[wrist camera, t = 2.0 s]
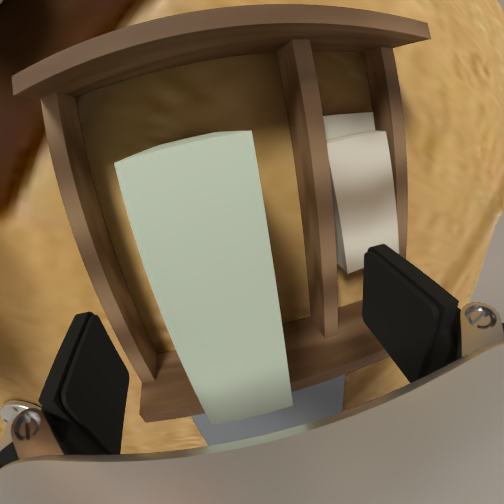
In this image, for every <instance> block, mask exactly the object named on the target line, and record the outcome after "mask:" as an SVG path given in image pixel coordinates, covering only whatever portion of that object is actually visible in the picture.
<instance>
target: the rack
mask: <svg viewBox="0 0 504 504" xmlns="http://www.w3.org/2000/svg"><path fill="white" fill-rule="evenodd" d="M428 39H431V36H430V32H429V28H428V24H427V23H425V22H421V21H417V20H413V19H409V18H405V17H400V16H396V15H391V14H386V13H380V12H374V11H368V10H361V9H354V8H346V7H336V6H323V5H304V4H266V5H246V6H234V7H224V8H216V9H208V10H201V11H195V12H189V13H183V14H178V15H173V16H168V17H164V18H159V19H155V20H151V21H147V22H143V23H139V24H135V25H132V26H128V27H125V28H122V29H119V30H115V31H112V32H109V33H106V34H103V35H100V36H98V37H95V38H92V39H90V40H87V41H84V42H82V43H79V44H77V45H74V46H72V47H69V48H67V49H65V50H63V51H60V52H58V53H56V54H54V55H52V56H49V57H47V58H45V59H43V60H41V61H39V62H37V63H35V64H33V65H31V66H30V67H28V68H26V69H24V70H22V71H20V72H19V73H17V74H15V75H13V76H12V86H13V96H20V97H28V98H35V99H41V104H42V111H43V117H44V123H45V129H46V134H47V139H48V144H49V149H50V153H51V158H52V162H53V166H54V170H55V174H56V178H57V182H58V186H59V190H60V193H61V197H62V200H63V204H64V207H65V210H66V213H67V217H68V220H69V223H70V226H71V229H72V232H73V235H74V238H75V240H76V243H77V246H78V249H79V251H80V254H81V257H82V259H83V262H84V265H85V267H86V270H87V272H88V275H89V277H90V280H91V282H92V284H93V287H94V289H95V291H96V294H97V296H98V298H99V300H100V303H101V305H102V307H103V309H104V311H105V314H106V316H107V318H108V320H109V322H110V324H111V326H112V328H113V330H114V332H115V334H116V336H117V338H118V340H119V342H120V344H121V346H122V348H123V350H124V351H125V353H126V355H127V357H128V359H129V361H130V363H131V364H132V366H133V368H134V370H135V371H136V373H137V375H138V377H139V378H140V380H141V382H142V390H141V401H140V415H141V417H142V418H143V420H144V421H145V422H154V421H162V420H169V419H176V418H182V417H188V416H194V415H199V414H205V411H204V409H203V407H202V405H201V403H200V401H199V399H198V397H197V395H196V393H195V391H194V389H193V387H192V385H191V382H190V380H189V378H188V376H187V374H186V371H185V369H184V367H183V365H182V363H181V360H180V358H179V356H178V353H177V351H176V350H175V351H170V352H165V353H160V354H156V352H155V350H154V347H153V345H152V343H151V341H150V339H149V337H148V334H147V332H146V330H145V328H144V325H143V323H142V321H141V319H140V316H139V314H138V312H137V309H136V307H135V304H134V302H133V299H132V297H131V295H130V292H129V289H128V287H127V284H126V282H125V279H124V277H123V274H122V271H121V268H120V266H119V263H118V260H117V257H116V255H115V252H114V249H113V246H112V243H111V240H110V237H109V234H108V231H107V228H106V225H105V221H104V218H103V215H102V212H101V208H100V205H99V201H98V198H97V194H96V191H95V187H94V183H93V179H92V175H91V171H90V167H89V163H88V159H87V155H86V150H85V146H84V141H83V136H82V132H81V126H80V121H79V116H78V110H77V104H76V98H75V97H77V96H79V95H82V94H85V93H87V92H90V91H93V90H95V89H98V88H101V87H104V86H107V85H110V84H113V83H116V82H119V81H122V80H126V79H129V78H132V77H136V76H139V75H143V74H147V73H150V72H154V71H158V70H162V69H166V68H171V67H175V66H180V65H185V64H190V63H195V62H200V61H206V60H212V59H218V58H225V57H232V56H240V55H249V54H259V53H271V52H276V53H277V58H278V63H279V69H280V74H281V79H282V85H283V91H284V96H285V102H286V108H287V115H288V121H289V127H290V134H291V140H292V147H293V154H294V161H295V168H296V176H297V183H298V191H299V199H300V207H301V216H302V225H303V234H304V244H305V254H306V264H307V275H308V286H309V299H310V312H311V317H308V318H304V319H301V320H297V321H294V322H290V323H287V324H283V325H282V327H283V335H284V342H285V349H286V356H287V364H288V371H289V379H290V386H291V392H294V391H297V390H300V389H304V388H307V387H310V386H313V385H316V384H319V383H322V382H325V381H328V380H331V379H333V378H336V377H339V376H342V375H344V374H347V373H350V372H352V371H355V370H358V369H360V368H363V367H365V366H368V365H370V364H373V363H375V362H377V361H380V360H382V359H384V358H387V357H389V356H390V355H389V354H388V353H387V351H386V350H385V349H384V347H383V346H382V345H381V344H380V342H379V341H378V340H377V338H376V337H375V336H374V335H373V333H372V332H371V331H370V329H369V328H368V327H367V326H366V324H365V323H364V321H363V318H362V304H363V300H362V301H359V302H356V303H353V304H349V305H346V306H343V307H340V308H338V289H337V260H336V240H335V224H334V210H333V198H332V187H331V176H330V167H329V158H328V149H327V141H326V134H325V126H324V119H323V112H322V106H321V99H320V93H319V87H318V81H317V75H316V70H315V64H314V59H313V54H312V51H351V52H364V57H365V63H366V68H367V74H368V80H369V86H370V92H371V99H372V107H373V114H374V123H375V130H376V131H386V135H387V141H388V147H389V153H390V159H391V166H392V174H393V182H394V190H395V200H396V211H397V224H398V240H399V255H401V256H402V257H403V258H405V259H406V245H407V218H408V185H407V157H406V142H405V130H404V119H403V110H402V102H401V94H400V87H399V81H398V75H397V69H396V63H395V58H394V53H393V48H395V47H399V46H403V45H407V44H411V43H415V42H419V41H423V40H428Z"/></svg>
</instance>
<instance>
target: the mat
mask: <svg viewBox="0 0 504 504" xmlns="http://www.w3.org/2000/svg"><path fill="white" fill-rule="evenodd" d="M344 385H345V374H344V375H342V376H339V377H336V378H333V379H331V380H328V381H325V382H322V383H319V384H316V385H313V386H310V387H307V388H304V389H300V390H297V391H294V392H291V394H292V402H293V406H290V407H287V408H283V409H280V410H276V411H273V412H269V413H265V414H261V415H257V416H253V417H249V418H245V419H241V420H237V421H232V422H227V423H223V424H218V425H213V426H212V425H211V423H210V421H209V419H208V417H207V415H206V413H205V414H199V415H194V416H191V417H192V419H193V420H194V422H195V424H196V426H197V427H198V429H199V431H200V432H201V434H202V436H203V437H204V439H205V441H206V442H207V444H208V446H212V445H218V444H224V443H229V442H234V441H239V440H244V439H249V438H253V437H258V436H262V435H266V434H270V433H274V432H278V431H282V430H286V429H289V428H293V427H296V426H300V425H303V424H307V423H310V422H313V421H316V420H319V419H322V418H325V417H328V416H331V415H334V414H337V413H340V412H342V409H343V398H344Z"/></svg>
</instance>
